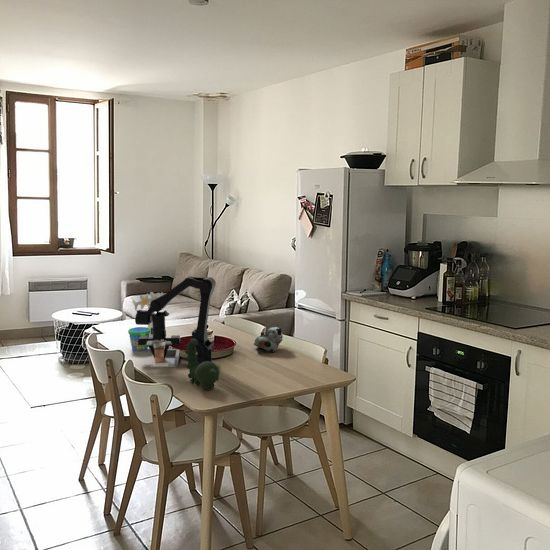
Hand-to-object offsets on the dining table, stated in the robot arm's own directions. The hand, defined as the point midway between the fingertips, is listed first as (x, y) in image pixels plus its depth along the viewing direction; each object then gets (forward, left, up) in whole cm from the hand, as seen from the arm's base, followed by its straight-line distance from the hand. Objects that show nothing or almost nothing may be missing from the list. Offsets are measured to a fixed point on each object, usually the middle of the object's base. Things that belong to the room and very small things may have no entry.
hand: (159, 358), depth 284 cm
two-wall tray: (-2, +1, -2) cm, 3 cm away
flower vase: (+8, -38, -2) cm, 39 cm away
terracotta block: (0, 0, -1) cm, 1 cm away
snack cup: (+12, -21, -2) cm, 24 cm away
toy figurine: (-20, +34, -2) cm, 39 cm away
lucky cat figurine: (-51, -14, -2) cm, 53 cm away
